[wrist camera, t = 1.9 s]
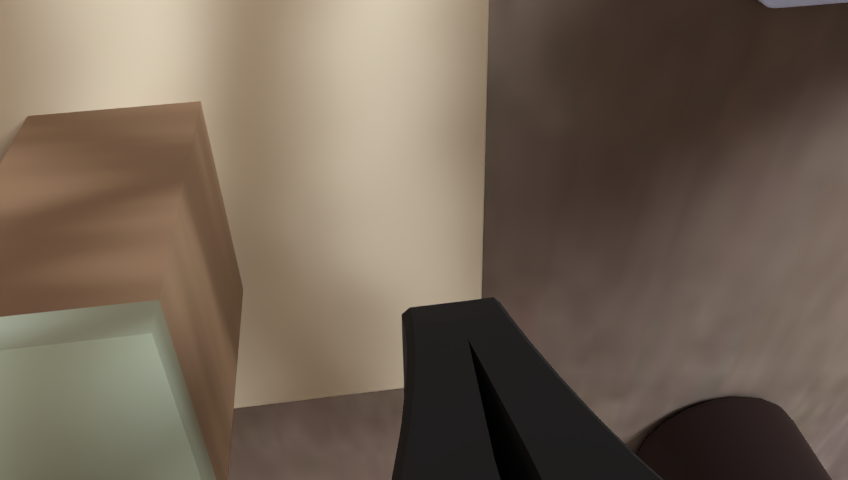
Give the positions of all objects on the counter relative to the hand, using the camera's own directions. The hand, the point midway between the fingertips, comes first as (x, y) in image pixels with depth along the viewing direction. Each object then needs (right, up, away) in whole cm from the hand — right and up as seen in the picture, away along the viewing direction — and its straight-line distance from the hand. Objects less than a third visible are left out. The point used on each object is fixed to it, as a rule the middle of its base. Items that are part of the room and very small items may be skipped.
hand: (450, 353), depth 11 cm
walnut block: (-8, +2, +9) cm, 12 cm away
